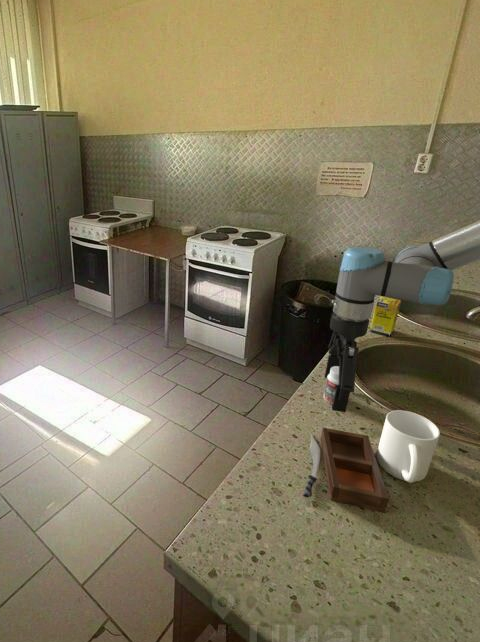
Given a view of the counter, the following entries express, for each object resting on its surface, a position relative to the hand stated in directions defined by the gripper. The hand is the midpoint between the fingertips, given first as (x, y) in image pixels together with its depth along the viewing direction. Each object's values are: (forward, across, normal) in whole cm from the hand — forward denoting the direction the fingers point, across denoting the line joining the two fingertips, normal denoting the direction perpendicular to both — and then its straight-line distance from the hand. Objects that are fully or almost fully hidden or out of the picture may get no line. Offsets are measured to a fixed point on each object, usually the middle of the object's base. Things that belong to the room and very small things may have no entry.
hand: (334, 393), depth 97 cm
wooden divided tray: (+2, +24, 0) cm, 24 cm away
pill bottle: (+2, 0, 0) cm, 2 cm away
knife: (+2, +24, -7) cm, 25 cm away
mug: (+2, +21, +9) cm, 23 cm away
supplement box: (+2, -44, +20) cm, 48 cm away
